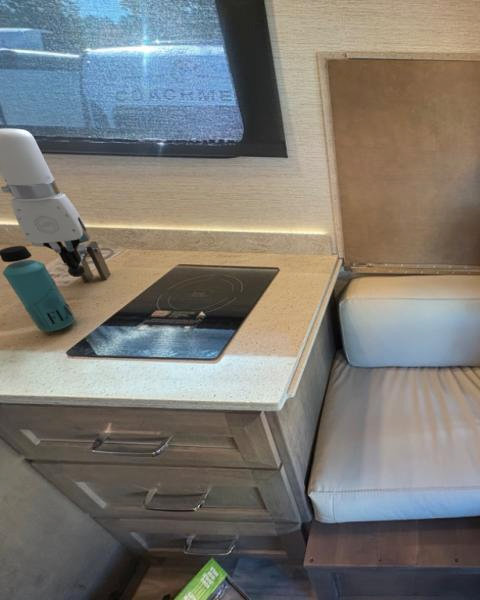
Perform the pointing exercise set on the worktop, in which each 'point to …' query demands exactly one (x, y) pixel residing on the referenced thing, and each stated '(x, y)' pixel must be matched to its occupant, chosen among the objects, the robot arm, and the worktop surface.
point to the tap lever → (80, 269)
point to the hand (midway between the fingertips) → (74, 264)
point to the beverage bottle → (36, 290)
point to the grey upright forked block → (95, 263)
